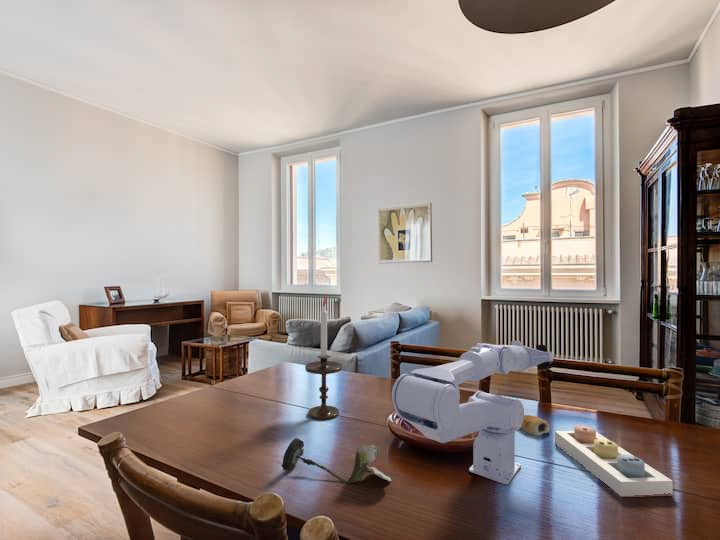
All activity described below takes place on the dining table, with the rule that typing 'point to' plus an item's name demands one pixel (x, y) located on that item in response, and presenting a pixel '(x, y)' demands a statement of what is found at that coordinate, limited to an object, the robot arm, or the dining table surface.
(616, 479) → the button panel
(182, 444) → the dining table surface
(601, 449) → the mustard button
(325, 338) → the candlestick
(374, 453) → the artificial flower
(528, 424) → the pastry
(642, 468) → the slate button
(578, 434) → the terracotta button
